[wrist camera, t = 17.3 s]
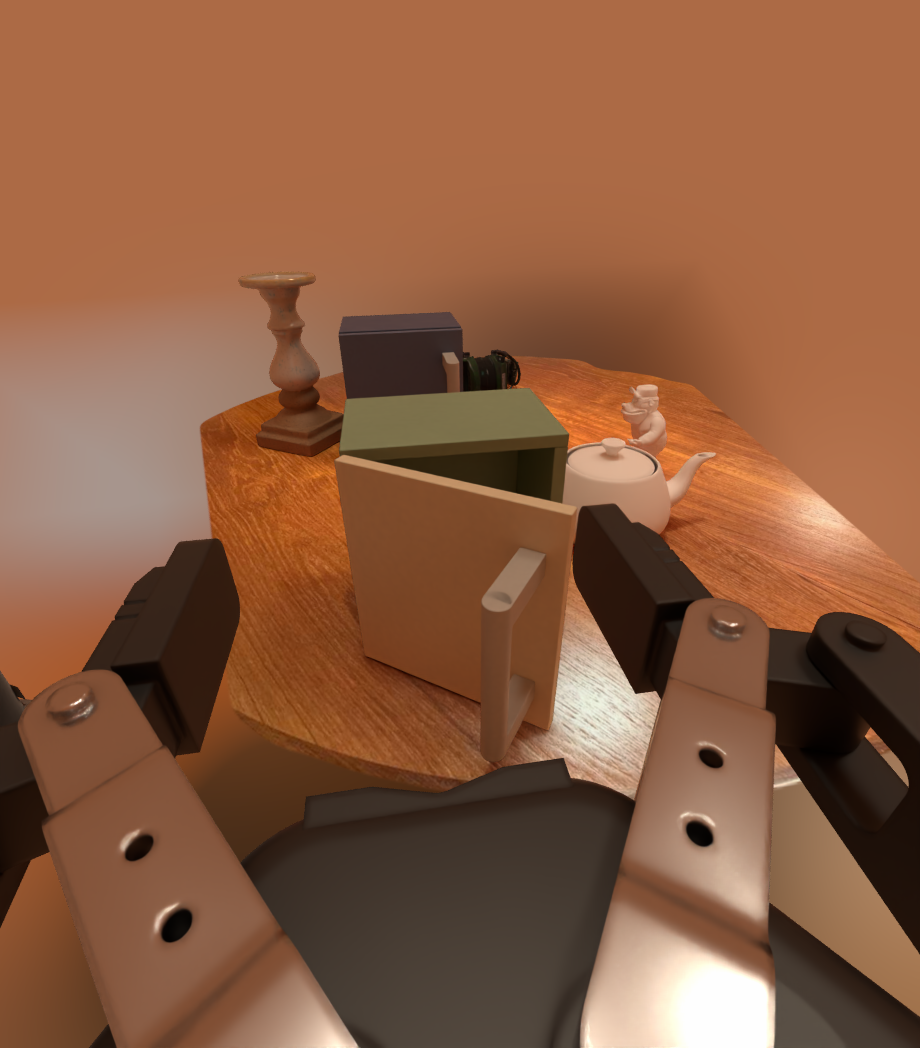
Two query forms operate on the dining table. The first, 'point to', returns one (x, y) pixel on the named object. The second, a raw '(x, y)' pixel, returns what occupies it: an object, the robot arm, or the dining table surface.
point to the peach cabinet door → (461, 588)
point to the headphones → (489, 372)
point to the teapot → (626, 481)
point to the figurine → (645, 420)
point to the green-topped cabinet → (463, 438)
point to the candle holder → (293, 372)
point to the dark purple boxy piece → (398, 322)
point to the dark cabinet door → (402, 362)
